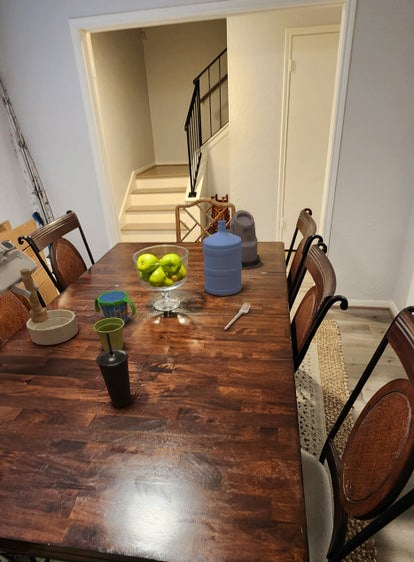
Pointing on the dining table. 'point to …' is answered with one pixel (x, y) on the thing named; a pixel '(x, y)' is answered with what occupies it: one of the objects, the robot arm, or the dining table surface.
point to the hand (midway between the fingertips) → (33, 293)
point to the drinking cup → (115, 374)
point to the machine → (246, 238)
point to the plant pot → (110, 332)
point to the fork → (239, 314)
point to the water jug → (222, 262)
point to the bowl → (54, 328)
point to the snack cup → (115, 305)
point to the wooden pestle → (33, 299)
